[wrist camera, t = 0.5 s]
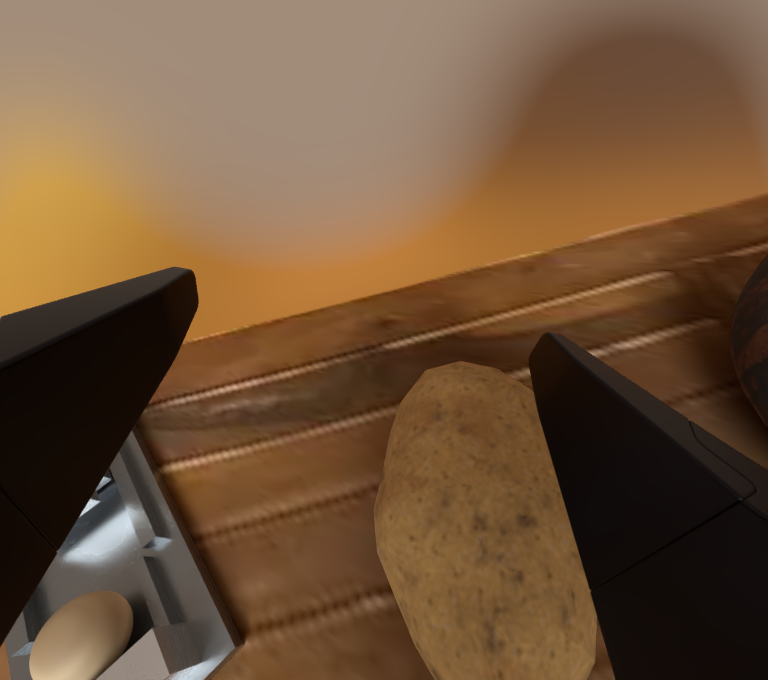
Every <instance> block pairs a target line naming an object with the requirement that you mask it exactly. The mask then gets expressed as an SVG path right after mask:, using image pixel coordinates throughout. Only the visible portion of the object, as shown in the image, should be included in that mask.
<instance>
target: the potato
mask: <svg viewBox="0 0 768 680" xmlns="http://www.w3.org/2000/svg"><path fill="white" fill-rule="evenodd" d="M373 512H374V524H375V536H376V547H377V554H378V556H379V559H380V561H381V564H382V566H383V569H384V571H385V574H386V576H387V579H388V581H389V584H390V586H391V589H392V591H393V594H394V596H395V599H396V601H397V603H398V606H399V608H400V611H401V613H402V616H403V618H404V621H405V623H406V625H407V628H408V630H409V633H410V635H411V638H412V641H413V643H414V645H415V647H416V649H417V650H418V652H419V654H420V656H421V657H422V659H423V661H424V663H425V664H426V666H427V668H428V670H429V671H430V673H431V675H432V676H433V678H434V680H587V679H588V677H589V675H590V672H591V670H592V668H593V666H594V663H595V654H596V629H597V615H596V611H595V608H594V604H593V601H592V597H591V594H590V591H591V590H590V589H589V586H588V583H587V580H586V576H585V573H584V569H583V566H582V562H581V559H580V556H579V552H578V549H577V545H576V542H575V539H574V535H573V532H572V528H571V525H570V521H569V518H568V515H567V511H566V508H565V504H564V501H563V498H562V494H561V491H560V487H559V484H558V481H557V477H556V474H555V470H554V467H553V463H552V460H551V457H550V453H549V450H548V446H547V443H546V440H545V436H544V433H543V429H542V426H541V422H540V419H539V415H538V412H537V407H536V402H535V396H534V392H533V391H532V390H530V389H529V388H528V387H527V386H525V385H523V384H522V383H520V382H518V381H517V380H515V379H513V378H512V377H510V376H509V375H507V374H505V373H504V372H502V371H500V370H499V369H497V368H492V367H488V366H483V365H478V364H473V363H468V362H463V361H458V362H454V363H451V364H447V365H443V366H439V367H435V368H432V369H428V370H426V371H425V372H424V373H423V374H422V376H421V377H420V378H419V379H418V381H417V382H416V383H415V384H414V386H413V387H412V388H411V390H410V391H409V392H408V393H407V395H406V396H405V397H404V399H403V400H402V401H401V403H400V405H399V408H398V411H397V414H396V417H395V420H394V423H393V426H392V429H391V432H390V435H389V439H388V445H387V450H386V455H385V461H384V466H383V471H382V476H381V480H380V484H379V488H378V493H377V497H376V501H375V505H374V509H373Z"/></svg>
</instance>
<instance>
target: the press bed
mask: <svg viewBox="0 0 768 680" xmlns="http://www.w3.org/2000/svg"><path fill="white" fill-rule="evenodd" d="M108 470H109V472H110V475H111V477H112V480H111V481H109V482H108V483H107V484H105V485H104V486H103V487H101V488H100V489H99V490H97V491H96V492H97V494H98V497H99V500H100V502H99V503H97V504H96V505H95V506H93V507H92V508H91V509H89V510H88V511H87V512H86V513H84V514H83V515H82V516H80V517H79V518H78V520H77V521H76V523H75V525H74V526H73V528H72V530H71V531H70V533H69V535H68V536H67V538H66V540H65V541H64V543H63V544H62V546H61V548H60V549H59V550H58V551H57V555H56V557H55V558H54V560H53V562H52V563H51V565H50V566H49V568H48V570H47V571H46V573H45V575H44V576H43V578H42V580H41V581H40V583H39V585H38V586H37V588H36V589H35V591H34V593H33V594H32V596H31V598H30V599H29V601H28V603H27V604H26V606H25V608H24V609H23V611H22V613H21V614H20V616H19V617H18V619H17V621H16V622H15V624H14V626H13V627H12V629H11V631H10V632H9V634H8V636H7V637H6V639H5V643H6V650H7V656H8V662H9V669H10V675H11V680H33V679H32V677H31V674H30V667H29V661H30V654H31V650H32V647H33V644H34V641H35V639H36V637H37V635H38V634H39V632H40V630H41V629H42V627H43V626H44V625H45V623H46V622H47V621H48V620H49V618H50V617H51V616H52V615H53V614H54V613H55V612H56V611H57V610H59V609H60V608H61V607H62V606H64V605H65V604H66V603H68V602H69V601H71V600H73V599H74V598H76V597H78V596H80V595H83V594H86V593H89V592H93V591H100V590H107V591H113V592H116V593H118V594H120V595H122V596H123V597H124V598H125V599H126V600H127V601H128V603H129V604H130V606H131V609H132V613H133V628H132V633H131V636H130V639H129V642H128V644H127V646H126V648H125V650H124V652H123V653H122V655H121V656H120V658H119V659H118V660H117V661H116V662H115V663H114V664H112V665H111V666H110V667H109V668H108V669H107V670H106V671H105V672H104V673H103V674H102V675H100V676H99V677H98V678H97V679H96V680H210V679H211V678H212V677H213V676H214V675H215V674H216V673H217V672H218V671H219V670H220V669H221V668H222V667H223V666H224V665H225V664H226V663H227V662H228V661H229V660H230V659H231V658H232V657H233V656H234V655H235V654H236V653H237V652H238V650H239V649H240V648H241V647H242V646H243V645H244V643H243V641H242V639H241V636H240V634H239V632H238V630H237V628H236V626H235V624H234V622H233V620H232V618H231V616H230V614H229V612H228V610H227V608H226V606H225V604H224V602H223V600H222V598H221V596H220V594H219V592H218V590H217V588H216V586H215V584H214V582H213V579H212V577H211V575H210V573H209V571H208V569H207V567H206V565H205V563H204V561H203V559H202V557H201V555H200V553H199V551H198V549H197V547H196V545H195V543H194V541H193V539H192V537H191V535H190V533H189V531H188V529H187V527H186V525H185V522H184V520H183V518H182V516H181V514H180V512H179V510H178V508H177V506H176V504H175V502H174V500H173V498H172V496H171V494H170V492H169V490H168V488H167V486H166V484H165V482H164V480H163V478H162V476H161V474H160V472H159V470H158V468H157V466H156V463H155V461H154V459H153V457H152V455H151V453H150V451H149V449H148V447H147V445H146V443H145V441H144V439H143V437H142V435H141V433H140V431H139V429H138V427H137V425H136V424H135V426H134V428H133V429H132V431H131V433H130V434H129V436H128V438H127V439H126V441H125V442H124V444H123V446H122V447H121V449H120V451H119V452H118V454H117V456H116V457H115V459H114V461H113V462H112V464H111V465H110V467H109V469H108Z"/></svg>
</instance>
